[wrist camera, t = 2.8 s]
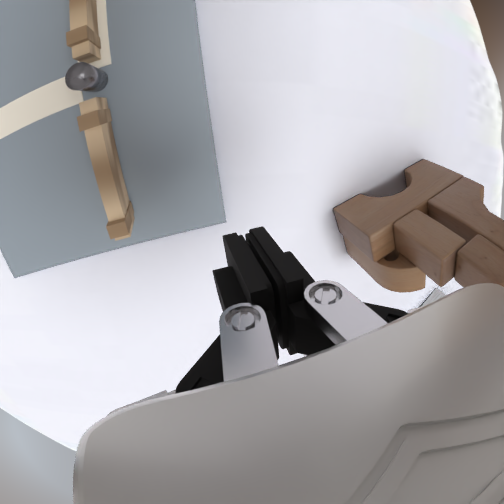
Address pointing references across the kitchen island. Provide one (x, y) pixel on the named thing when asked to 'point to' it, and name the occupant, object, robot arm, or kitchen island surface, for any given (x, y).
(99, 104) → the tan wooden bar
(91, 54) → the fixed fence rail
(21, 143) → the board
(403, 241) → the wooden toy
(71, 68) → the fence post
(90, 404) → the kitchen island surface
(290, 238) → the kitchen island surface
